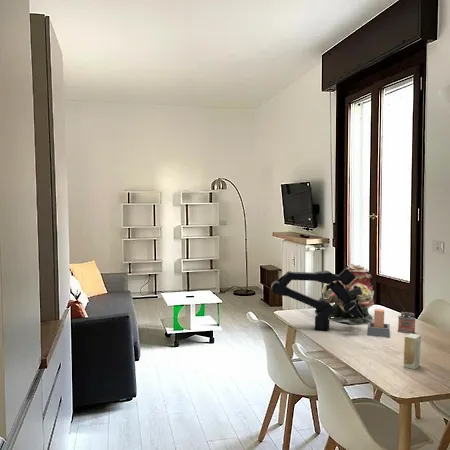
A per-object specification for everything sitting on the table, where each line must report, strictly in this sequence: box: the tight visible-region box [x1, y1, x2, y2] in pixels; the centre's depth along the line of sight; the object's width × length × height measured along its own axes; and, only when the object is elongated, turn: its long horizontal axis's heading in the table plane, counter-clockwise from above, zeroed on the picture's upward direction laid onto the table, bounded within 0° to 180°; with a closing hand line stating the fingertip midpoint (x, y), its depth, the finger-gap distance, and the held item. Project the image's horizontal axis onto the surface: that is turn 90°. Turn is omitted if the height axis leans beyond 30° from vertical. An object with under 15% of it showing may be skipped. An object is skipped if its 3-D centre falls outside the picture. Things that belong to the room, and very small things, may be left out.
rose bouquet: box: [320, 263, 375, 326], centre depth 268 cm, size 26×29×30 cm
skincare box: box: [403, 333, 422, 370], centre depth 193 cm, size 6×4×12 cm
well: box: [366, 321, 391, 338], centre depth 240 cm, size 10×10×4 cm
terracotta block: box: [373, 308, 385, 328], centre depth 240 cm, size 4×4×11 cm
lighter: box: [397, 311, 417, 335], centre depth 243 cm, size 8×3×10 cm, turn 62°
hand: (362, 315), depth 242 cm, fingers open, 9 cm apart
